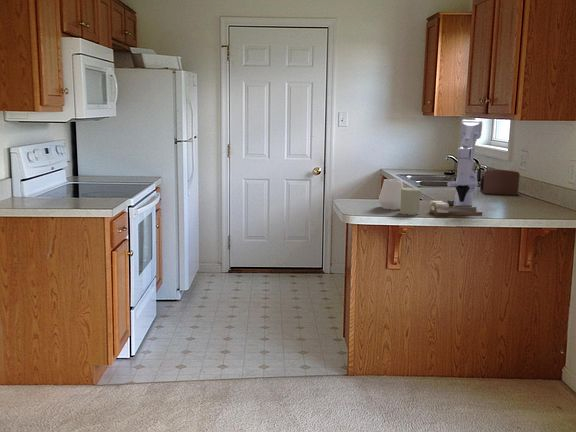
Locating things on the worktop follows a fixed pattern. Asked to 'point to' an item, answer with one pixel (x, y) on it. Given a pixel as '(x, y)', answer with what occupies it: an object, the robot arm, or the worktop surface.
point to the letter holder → (500, 182)
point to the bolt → (450, 202)
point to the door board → (453, 209)
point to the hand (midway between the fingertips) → (461, 201)
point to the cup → (391, 194)
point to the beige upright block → (410, 201)
